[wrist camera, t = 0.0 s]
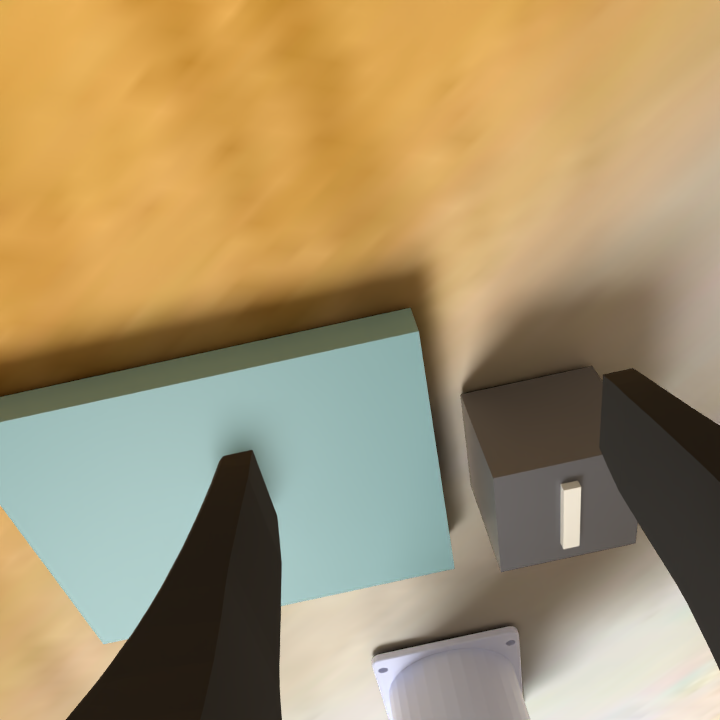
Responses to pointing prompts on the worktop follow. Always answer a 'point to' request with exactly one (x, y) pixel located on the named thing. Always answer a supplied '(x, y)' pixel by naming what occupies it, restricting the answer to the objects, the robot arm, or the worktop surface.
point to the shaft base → (224, 437)
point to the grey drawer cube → (543, 470)
